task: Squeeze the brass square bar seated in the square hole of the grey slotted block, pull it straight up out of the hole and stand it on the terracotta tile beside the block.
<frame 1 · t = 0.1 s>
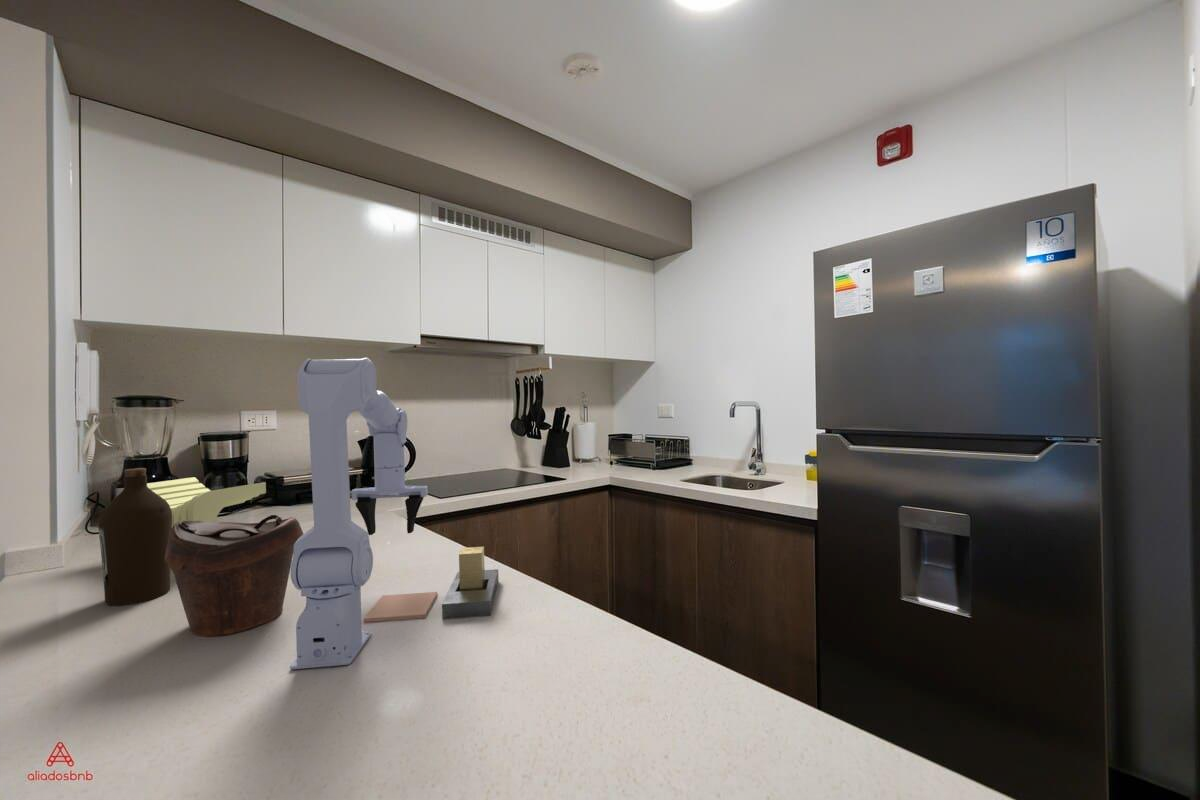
hand: (391, 532, 103), 10 cm above the counter, fingers open, 7 cm apart
grey slotted block: (472, 598, 93), on the counter
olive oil: (138, 597, 98), on the counter
brass bar: (472, 574, 93), in the grey slotted block
terracotta tile: (402, 607, 90), on the counter
slatted curved stool: (195, 557, 124), on the counter
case: (240, 620, 87), on the counter
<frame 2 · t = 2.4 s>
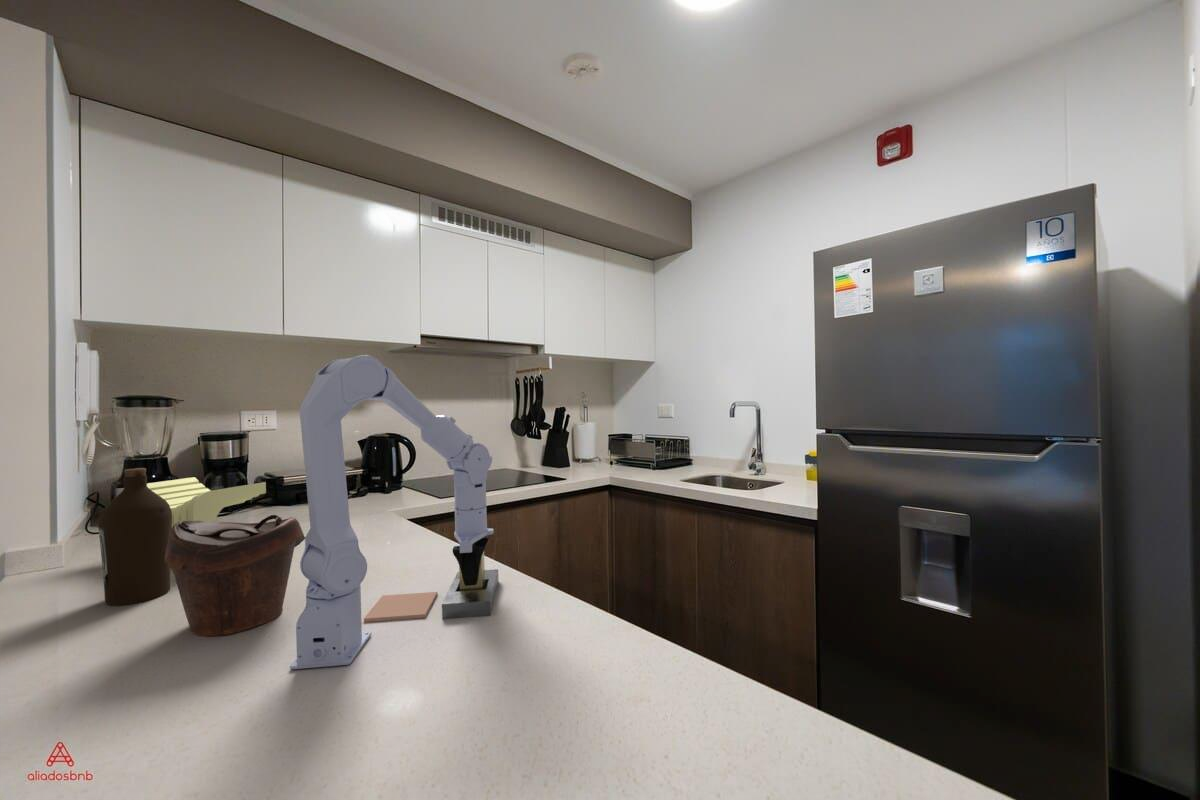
hand: (472, 580, 93), 3 cm above the counter, fingers closed on brass bar, 4 cm apart
brass bar: (472, 574, 93), in the grey slotted block, touching gripper
everything else where it was.
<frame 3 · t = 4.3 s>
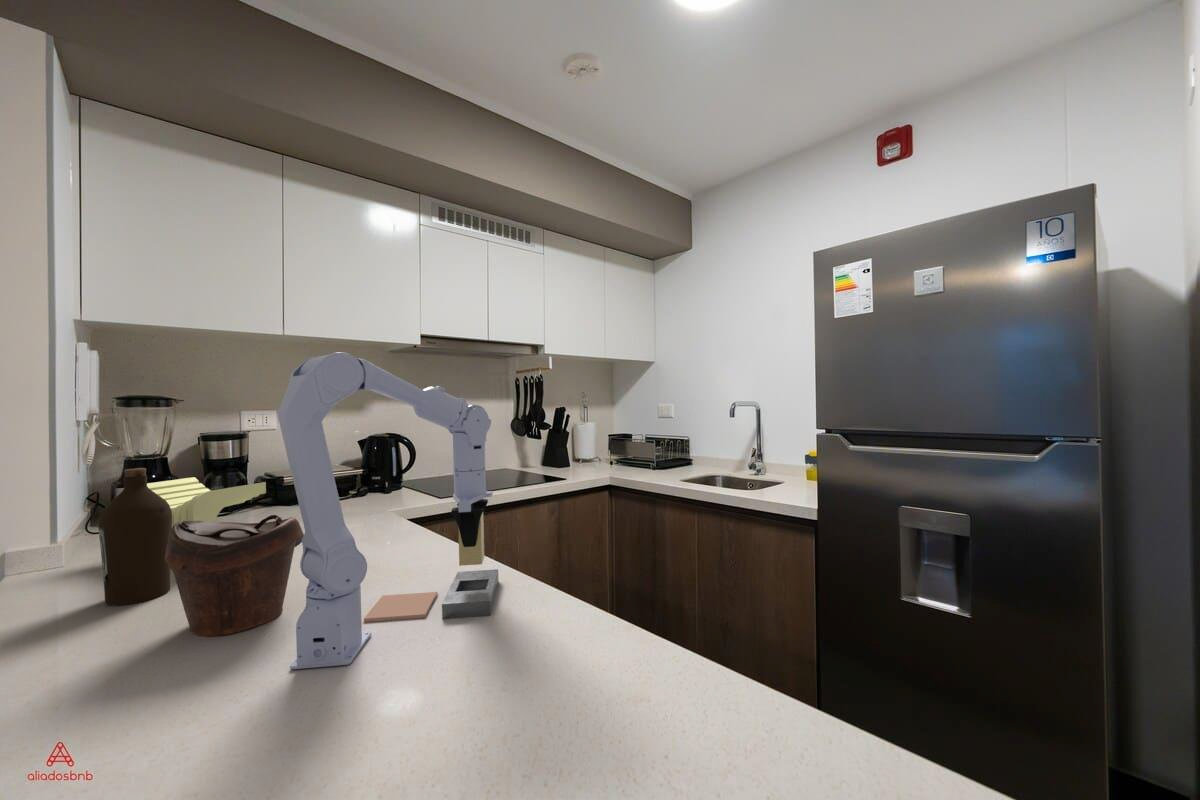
hand: (471, 542, 93), 10 cm above the counter, fingers closed on brass bar, 4 cm apart
brass bar: (471, 537, 93), point 11 cm above the counter, touching gripper
everything else where it was.
when the fingers open (5 cm above the counter, at t = 6.4 s): brass bar drops 1 cm, resting on terracotta tile.
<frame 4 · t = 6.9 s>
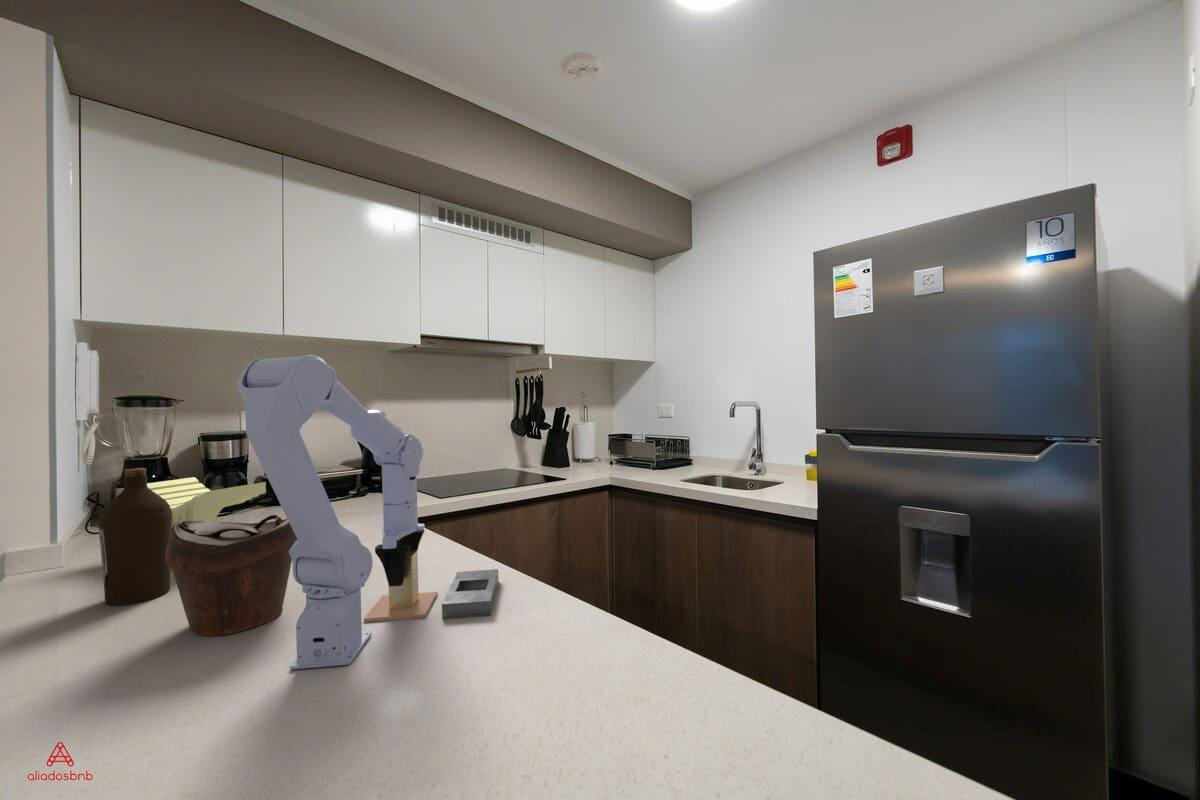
hand: (402, 577, 90), 5 cm above the counter, fingers open, 7 cm apart
brass bar: (403, 579, 90), on the terracotta tile, point 5 cm above the counter
everything else where it was.
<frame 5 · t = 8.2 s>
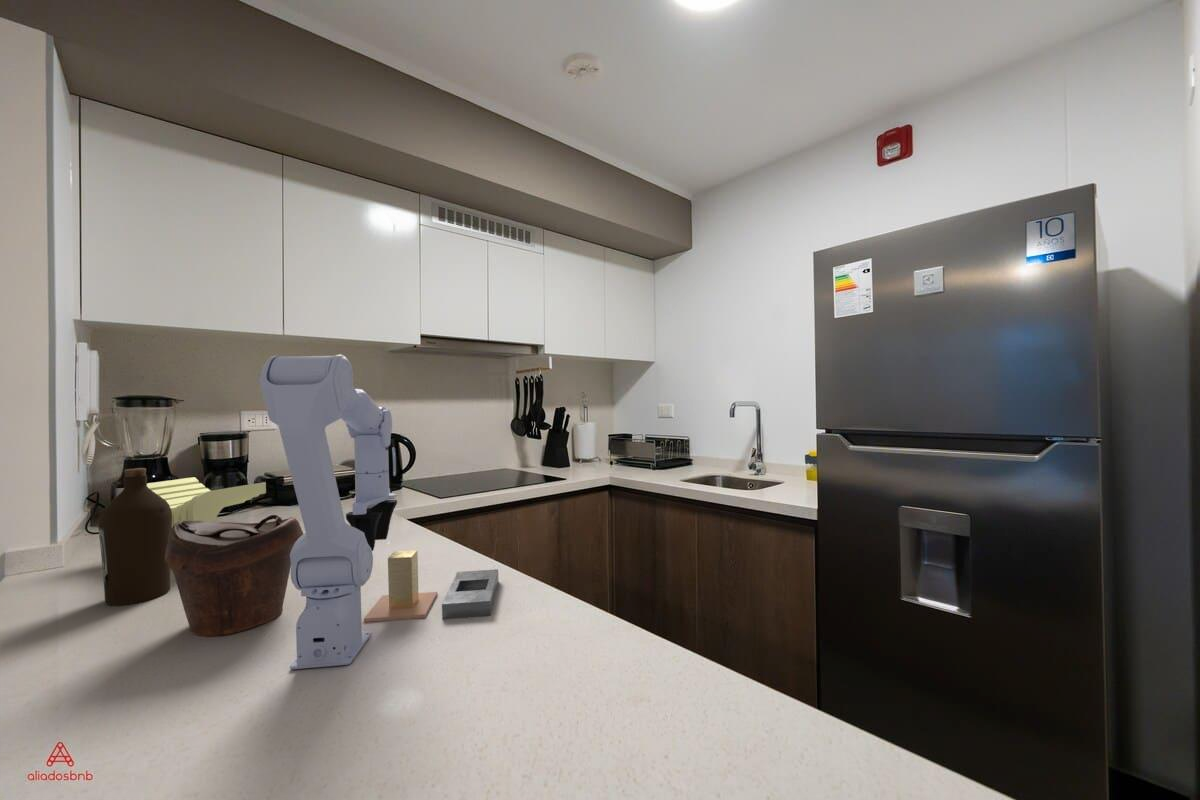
hand: (374, 545, 93), 10 cm above the counter, fingers open, 7 cm apart
nothing on the counter moved.
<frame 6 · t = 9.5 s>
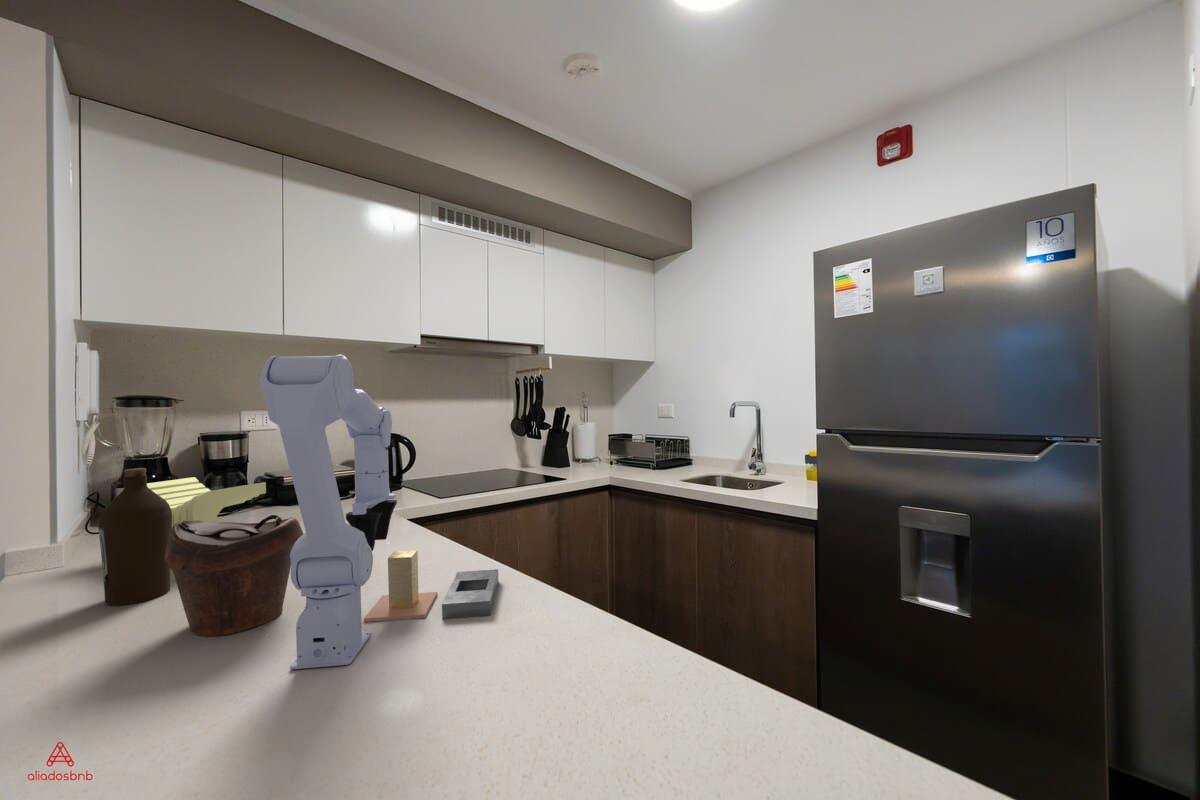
hand: (373, 545, 93), 10 cm above the counter, fingers open, 7 cm apart
nothing on the counter moved.
at the end: brass bar 0.3 cm off-centre on the terracotta tile, point 5.1 cm above the terracotta tile's base; brass bar tilted 0°; the gripper is holding nothing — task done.
